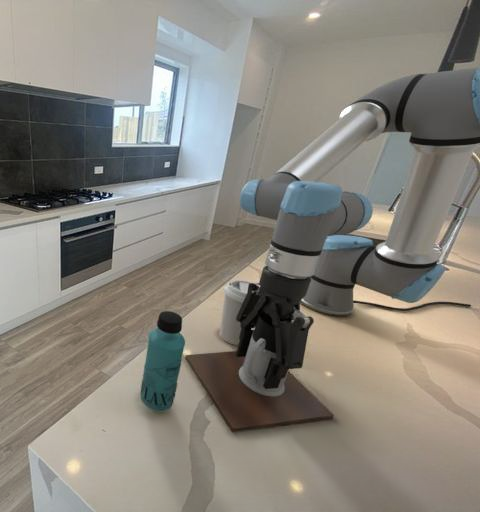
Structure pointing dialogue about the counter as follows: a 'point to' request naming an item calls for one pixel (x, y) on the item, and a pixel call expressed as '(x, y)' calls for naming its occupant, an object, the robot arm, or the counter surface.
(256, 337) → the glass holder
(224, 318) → the coffee cup
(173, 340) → the beverage bottle
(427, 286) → the robot arm
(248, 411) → the walnut board
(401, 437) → the counter surface
